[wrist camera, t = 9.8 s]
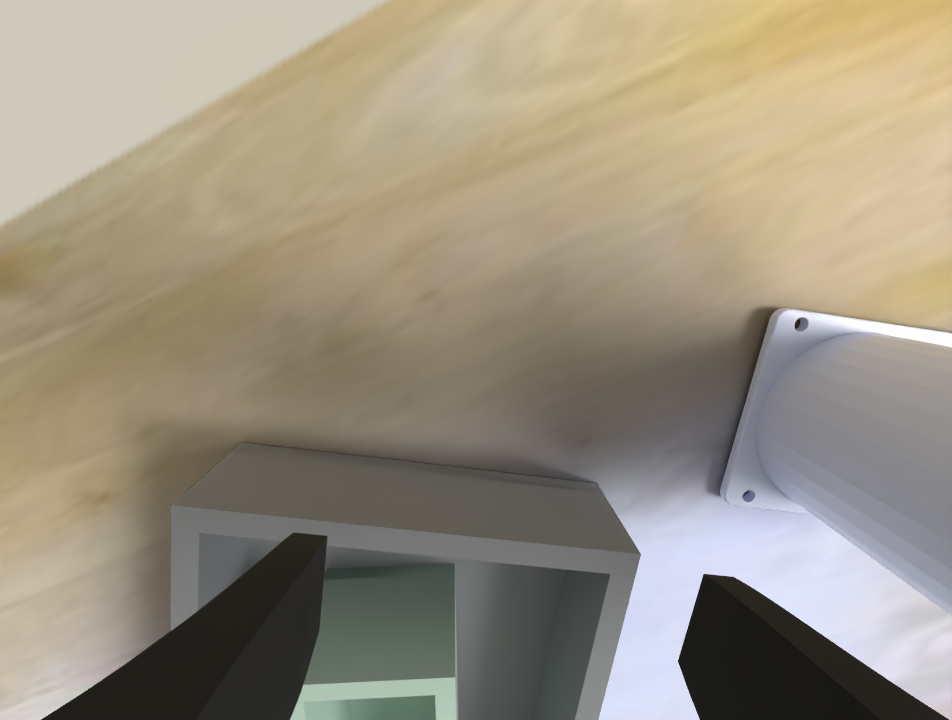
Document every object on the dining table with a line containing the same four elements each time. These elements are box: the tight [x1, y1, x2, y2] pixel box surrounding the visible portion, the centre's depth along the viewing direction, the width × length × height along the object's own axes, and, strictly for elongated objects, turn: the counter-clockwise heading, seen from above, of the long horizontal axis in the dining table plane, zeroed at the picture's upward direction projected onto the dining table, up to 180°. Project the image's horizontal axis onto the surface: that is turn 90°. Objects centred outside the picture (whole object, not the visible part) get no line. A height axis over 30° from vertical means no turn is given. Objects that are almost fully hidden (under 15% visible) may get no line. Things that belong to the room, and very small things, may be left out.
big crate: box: [170, 442, 641, 720], centre depth 18 cm, size 14×18×4 cm
